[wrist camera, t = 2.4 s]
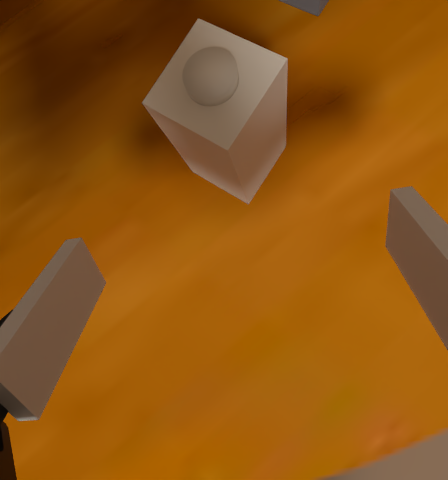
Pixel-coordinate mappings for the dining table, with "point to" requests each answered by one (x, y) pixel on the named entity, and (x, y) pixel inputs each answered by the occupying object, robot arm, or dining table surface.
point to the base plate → (308, 5)
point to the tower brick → (223, 108)
